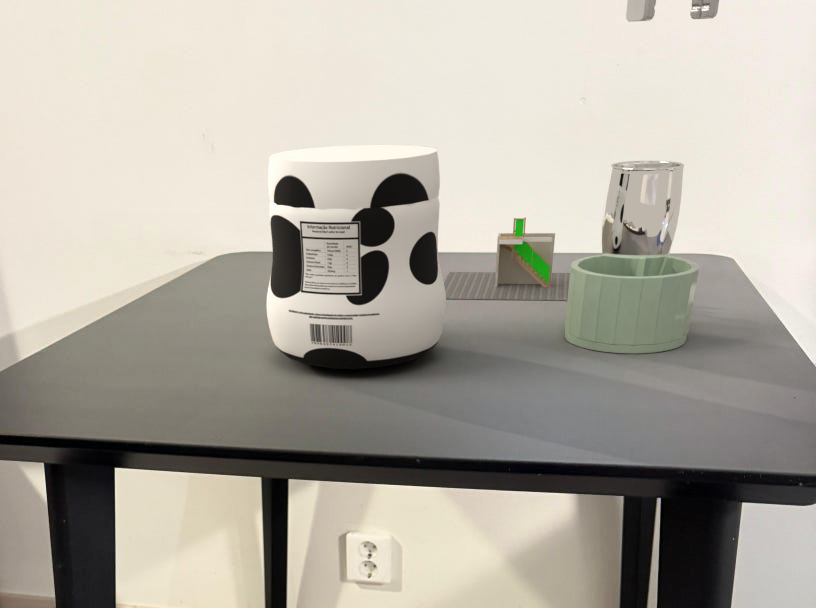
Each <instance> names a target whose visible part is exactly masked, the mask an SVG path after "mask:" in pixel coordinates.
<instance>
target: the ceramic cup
mask: <svg viewBox="0 0 816 608" xmlns="http://www.w3.org/2000/svg"><path fill="white" fill-rule="evenodd" d="M569 269H570V270H569V273H570V279H569V289H568V299H567V300H566V310H565V322H564V334H563V335H564V339H565V340H566V341H567V342H568V343H570V344H572V345H574V346H576V347H579V348H582V349H585V350H586V349H587V350H590V351H597V352H603V353H611V354H629V355H630V354H637V355H638V354H653V353H662V352H668V351H670V350H675V349H677V348H679V347H682V346H683V345H684V344H685V343H686V342H687V338H688V334H689V330H690V324H691V319H692V311H693V305H694V300H695V295H696V289H697V288H696V287H697V284H698V283H697V282H698V276H699V271H700V268H699V264H698V263H696V262H695V261H692V260H691V259H687V258H683V257H679V256H672V255H669V256H668V259H667V262H666V265H665V268H664V271H663V275H662V276H643V277H641V276H617V275H606V274H603V256H602V254H596V255H589V256H584V257H580V258H578V259H576V260H574V261H572V262H571V264H570V268H569Z"/></svg>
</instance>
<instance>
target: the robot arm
mask: <svg viewBox="0 0 816 608" xmlns="http://www.w3.org/2000/svg"><path fill="white" fill-rule="evenodd" d="M719 4H720V0H691V9H690V12H689V13H690V14H689V15H690V18H691V19H692V20H707V19H714V18H715V17H717V14H718V11H719ZM656 5H657V0H627V2H626V11H625V18H626V19H625V20H627V21H628V22H648V21H649V22H650V21H651V20H653V18H654V17H655V12H656V10H655V6H656Z"/></svg>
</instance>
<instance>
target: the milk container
mask: <svg viewBox="0 0 816 608" xmlns="http://www.w3.org/2000/svg"><path fill="white" fill-rule="evenodd" d="M439 162H440V161H439V153H438V150H437V148H436V147H435V148H434V147H429V146H422V145H411V144H409V145H408V144H352V145H332V146H319V147H317V146H316V147H307V148H298V149H291V150H284V151H280V152H279V151H278V152H276V153H271V155H270V156H269V158H268V166H267V167H268V173H267V189H268V191H267V192H268V199H269V206H268V207H269V208H268V212H269V224H270V232H271V233H270V234H271V235H270V236H271V246H272V263H271V271H270V276H269V283H268V288H267V294H266V316H267V321H268V327H269V331H270V336H271V339H272V342H273V343H274V345H275V347H276V348H277V350H279V352H280V353H282V354H283V355H284V356H286V357H287V358H288V359H290V360H293V361H296V362H299V363H301V364H304V365H308V366H314V367H322V368H327V369H336V370H337V369H340V370H341V369H347V370H361V369H362V370H363V369H377V368H383V367H388V366H394V365H399V364H404V363H407V362H410V361H412V360H415V359H418V358H421V357H423V356H424V355H426V354H427V353H429V351H431V350H432V349H434V347H435V346H437V344H438V343H439V341H440V339H441V337H442V335H443V330H444V326H445V320H446V313H447V299H446V292H445V287H444V282H445V281H444V278H443V274H442V269H441V265H440V259H439V248H438V247H439V245H438V244H439V221H440V200H439V196H440V195H439V194H440V187H441V185H440V183H441V175H440V163H439Z"/></svg>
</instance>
